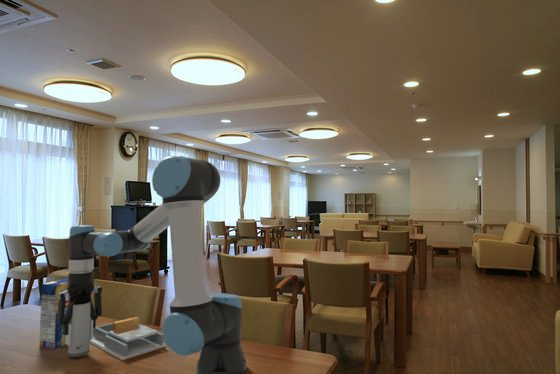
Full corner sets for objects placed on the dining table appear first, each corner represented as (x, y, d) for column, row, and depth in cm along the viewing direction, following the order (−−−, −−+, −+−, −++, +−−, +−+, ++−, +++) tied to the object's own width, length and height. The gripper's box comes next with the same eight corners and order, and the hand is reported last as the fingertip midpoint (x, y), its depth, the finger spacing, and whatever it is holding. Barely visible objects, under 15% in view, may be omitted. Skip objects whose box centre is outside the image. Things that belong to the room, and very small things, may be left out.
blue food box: (39, 346, 135) (41, 284, 136) (64, 336, 146) (66, 278, 147) (54, 349, 133) (56, 285, 134) (79, 338, 144) (81, 279, 145)
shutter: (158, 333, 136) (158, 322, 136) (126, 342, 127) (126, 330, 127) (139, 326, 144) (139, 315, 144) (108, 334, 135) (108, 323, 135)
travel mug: (81, 358, 123) (82, 295, 124) (63, 356, 125) (65, 294, 126) (94, 350, 129) (95, 291, 130) (77, 349, 131) (78, 290, 132)
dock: (165, 346, 137) (165, 333, 137) (122, 360, 124) (122, 346, 124) (125, 329, 154) (125, 318, 155) (84, 340, 142) (84, 327, 142)
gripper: (104, 266, 138) (102, 332, 137) (45, 274, 123) (42, 347, 122) (114, 269, 133) (112, 336, 132) (54, 276, 119) (51, 352, 117)
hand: (79, 341), depth 127 cm, fingers closed on travel mug, 6 cm apart
